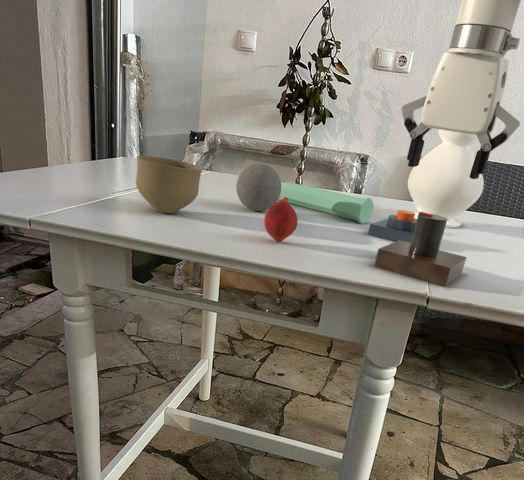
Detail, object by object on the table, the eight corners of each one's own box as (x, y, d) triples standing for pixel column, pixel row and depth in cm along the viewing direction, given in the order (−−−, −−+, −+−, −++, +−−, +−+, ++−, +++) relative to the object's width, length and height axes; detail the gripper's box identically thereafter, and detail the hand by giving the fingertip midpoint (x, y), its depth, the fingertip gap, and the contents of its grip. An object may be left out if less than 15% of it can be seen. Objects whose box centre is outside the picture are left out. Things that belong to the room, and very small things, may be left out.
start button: (415, 221, 106) (417, 212, 105) (409, 223, 103) (411, 214, 102) (399, 217, 107) (401, 209, 107) (393, 219, 105) (395, 210, 104)
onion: (280, 248, 88) (286, 201, 84) (255, 239, 91) (260, 194, 87) (300, 244, 92) (307, 199, 88) (275, 236, 95) (281, 192, 91)
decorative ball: (244, 203, 120) (248, 158, 115) (284, 211, 117) (290, 165, 113) (227, 209, 111) (231, 161, 107) (269, 218, 108) (275, 169, 104)
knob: (440, 253, 85) (451, 216, 82) (432, 258, 81) (443, 219, 79) (414, 247, 87) (423, 210, 84) (405, 251, 83) (414, 213, 81)
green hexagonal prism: (280, 175, 126) (366, 193, 112) (292, 183, 131) (376, 202, 116) (271, 198, 127) (356, 219, 112) (284, 205, 131) (366, 227, 117)
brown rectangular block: (461, 274, 87) (466, 257, 85) (445, 286, 79) (450, 268, 78) (395, 256, 92) (399, 240, 91) (374, 266, 84) (378, 248, 83)
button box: (432, 240, 108) (437, 221, 106) (418, 247, 101) (423, 227, 99) (383, 228, 113) (388, 210, 111) (367, 234, 106) (371, 215, 104)
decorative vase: (393, 219, 124) (419, 107, 113) (406, 209, 139) (430, 109, 128) (468, 234, 118) (503, 117, 107) (473, 222, 133) (505, 119, 122)
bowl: (208, 219, 100) (212, 167, 96) (144, 218, 95) (145, 162, 90) (188, 205, 110) (191, 157, 106) (129, 203, 105) (129, 152, 100)
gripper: (547, 54, 70) (504, 182, 78) (426, 44, 78) (398, 161, 85) (540, 45, 64) (494, 184, 72) (410, 36, 72) (381, 162, 80)
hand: (442, 172), depth 79 cm, fingers open, 9 cm apart
